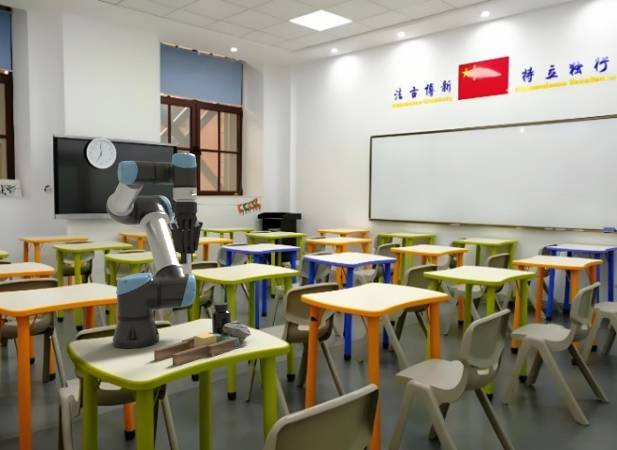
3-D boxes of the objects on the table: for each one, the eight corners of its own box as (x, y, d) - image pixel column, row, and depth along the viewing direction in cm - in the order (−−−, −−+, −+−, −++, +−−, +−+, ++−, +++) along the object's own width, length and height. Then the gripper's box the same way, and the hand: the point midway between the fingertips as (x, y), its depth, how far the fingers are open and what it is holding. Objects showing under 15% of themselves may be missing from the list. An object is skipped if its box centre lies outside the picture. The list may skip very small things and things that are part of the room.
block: (194, 351, 161) (194, 335, 161) (207, 347, 165) (207, 332, 165) (203, 354, 158) (203, 338, 158) (216, 350, 162) (216, 335, 161)
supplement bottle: (219, 334, 182) (218, 301, 182) (235, 335, 180) (234, 302, 179) (208, 338, 176) (207, 304, 176) (225, 340, 173) (224, 305, 173)
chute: (150, 358, 154) (150, 349, 153) (209, 341, 173) (209, 332, 173) (181, 366, 145) (180, 356, 145) (239, 347, 165) (239, 338, 165)
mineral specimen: (238, 354, 174) (224, 353, 165) (225, 336, 178) (211, 335, 168) (258, 334, 174) (245, 333, 165) (244, 317, 177) (231, 315, 168)
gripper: (176, 201, 157) (178, 276, 157) (208, 201, 167) (210, 271, 168) (161, 201, 161) (163, 275, 162) (193, 201, 171) (194, 270, 172)
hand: (187, 273), depth 165 cm, fingers closed
